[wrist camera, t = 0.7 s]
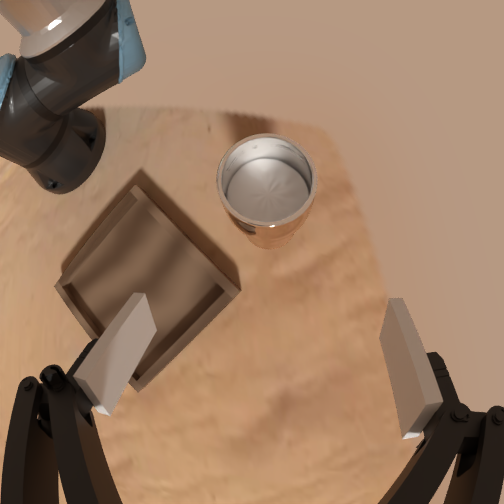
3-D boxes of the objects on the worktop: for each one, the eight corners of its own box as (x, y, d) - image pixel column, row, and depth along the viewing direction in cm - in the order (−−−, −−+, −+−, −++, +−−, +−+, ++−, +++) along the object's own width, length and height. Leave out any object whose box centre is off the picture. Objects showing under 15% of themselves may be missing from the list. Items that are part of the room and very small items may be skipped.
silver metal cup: (265, 266, 33) (259, 253, 18) (226, 219, 34) (192, 172, 19) (312, 227, 33) (342, 184, 18) (273, 182, 34) (272, 113, 19)
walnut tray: (63, 286, 39) (54, 286, 36) (142, 189, 39) (135, 184, 37) (144, 386, 36) (137, 392, 34) (241, 290, 37) (239, 291, 34)
